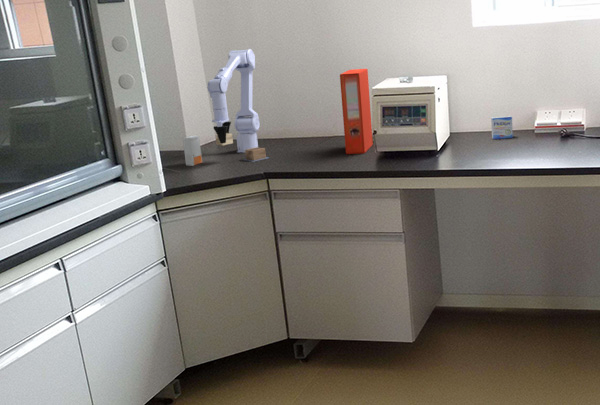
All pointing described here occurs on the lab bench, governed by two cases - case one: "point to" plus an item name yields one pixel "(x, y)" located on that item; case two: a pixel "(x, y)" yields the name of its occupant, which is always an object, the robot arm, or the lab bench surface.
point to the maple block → (228, 139)
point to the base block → (255, 153)
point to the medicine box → (502, 127)
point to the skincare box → (192, 150)
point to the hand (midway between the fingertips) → (224, 141)
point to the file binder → (356, 111)
